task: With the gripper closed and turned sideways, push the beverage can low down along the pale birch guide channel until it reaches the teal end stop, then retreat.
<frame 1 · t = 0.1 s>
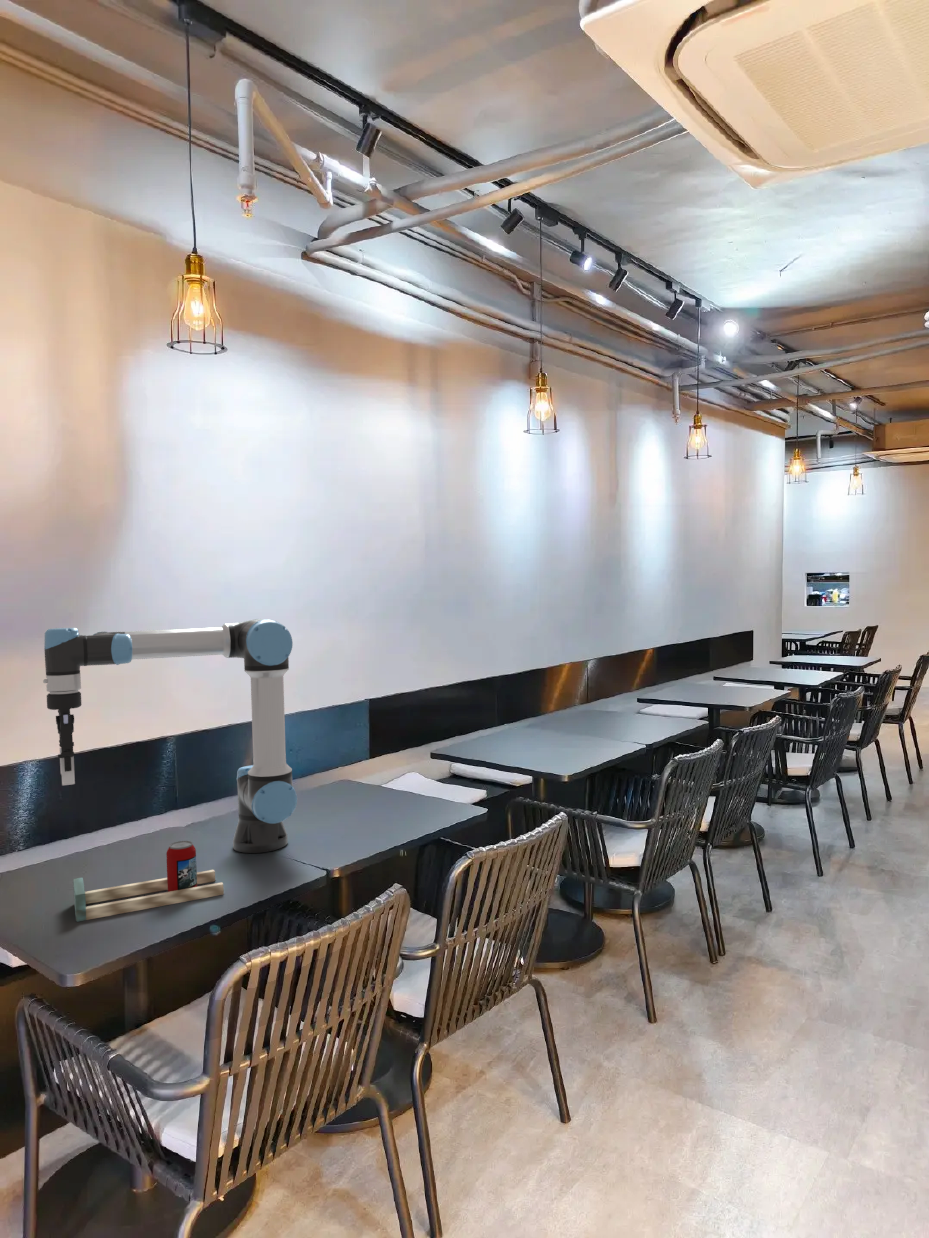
hand: (67, 779, 201), 28 cm above the table, fingers open, 13 cm apart
channel: (149, 899, 197), on the table
beverage can: (182, 894, 200), resting in channel
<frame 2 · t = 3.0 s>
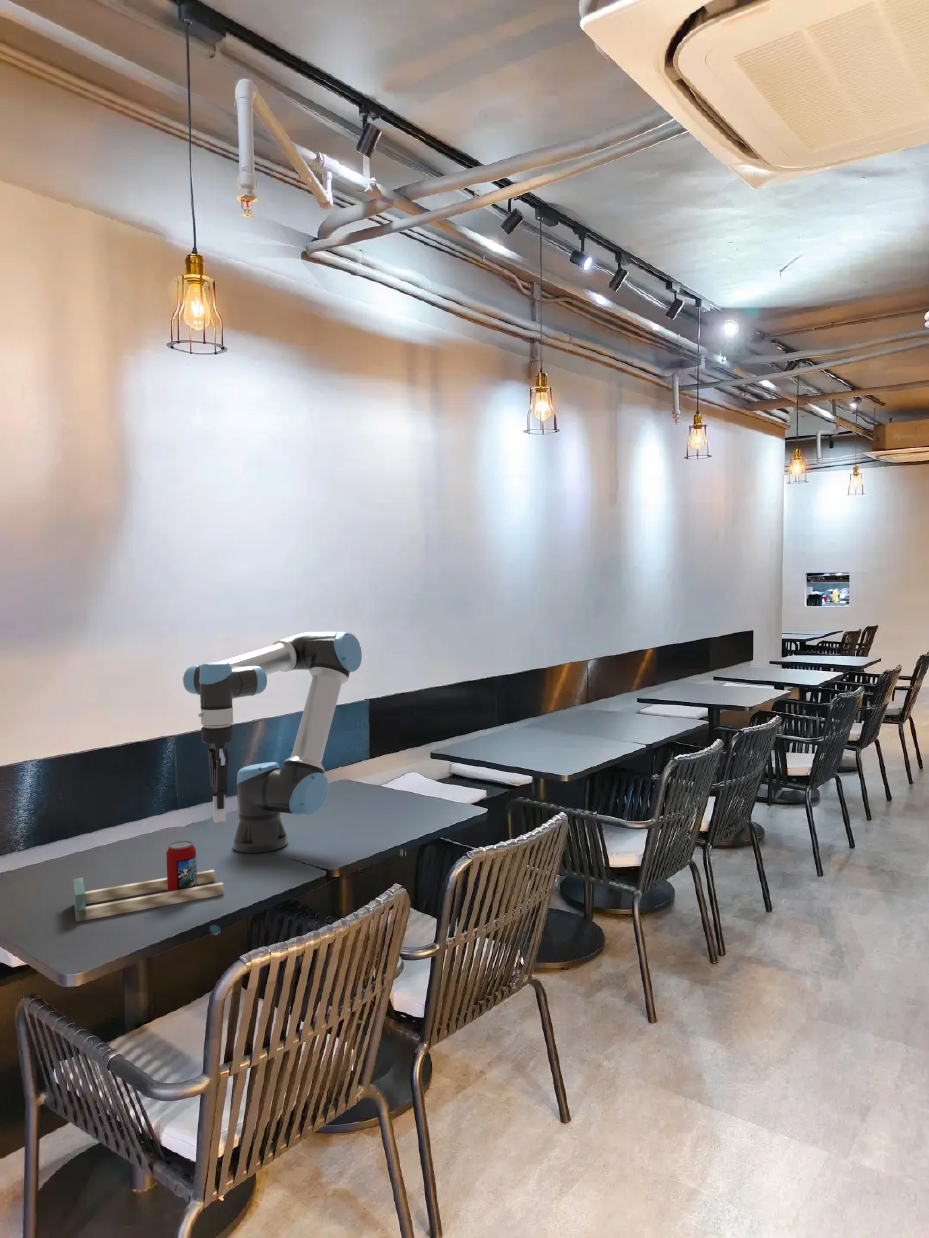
hand: (219, 820, 204), 16 cm above the table, fingers closed
nothing on the table moved.
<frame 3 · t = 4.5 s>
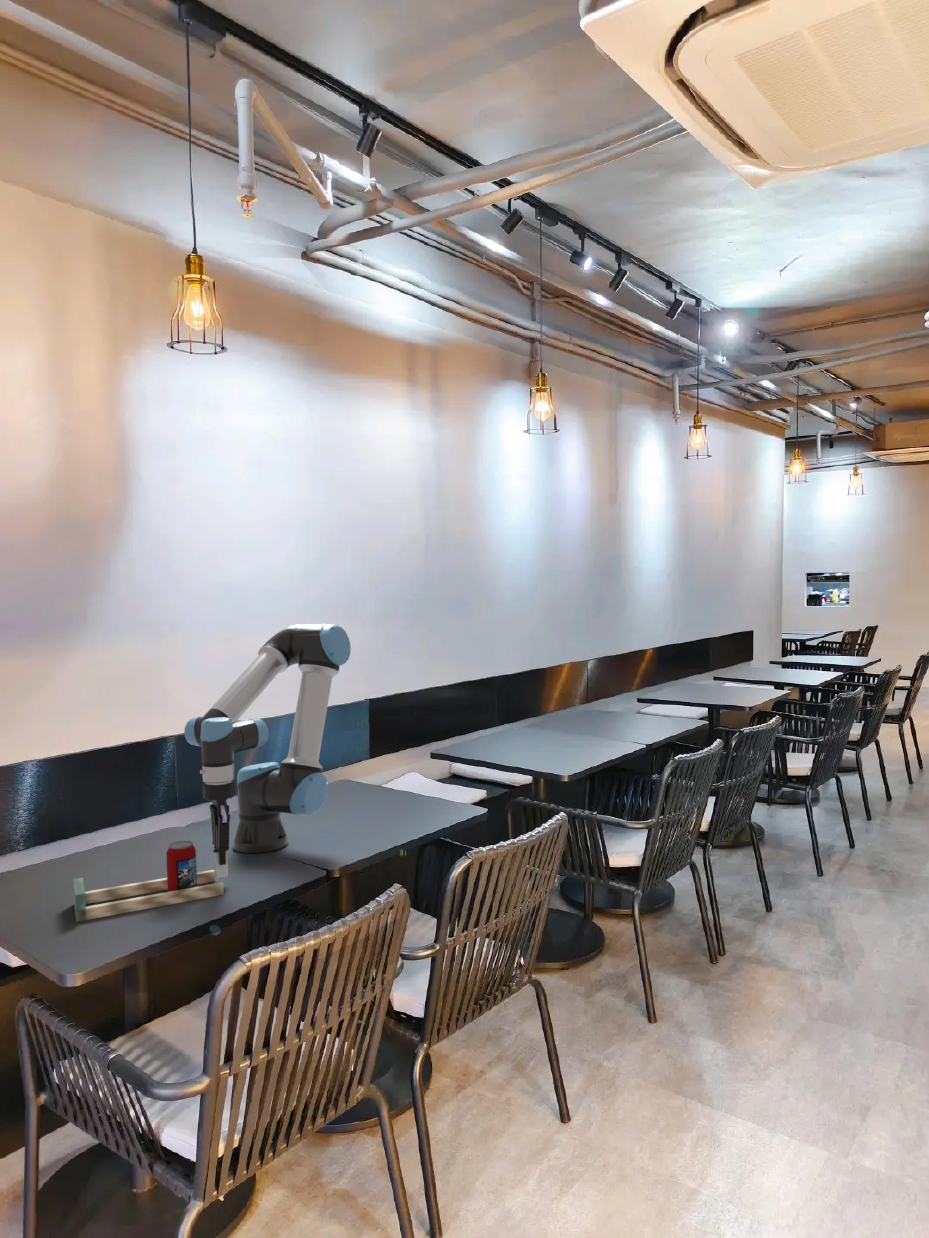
hand: (221, 876, 204), 2 cm above the table, fingers closed
nothing on the table moved.
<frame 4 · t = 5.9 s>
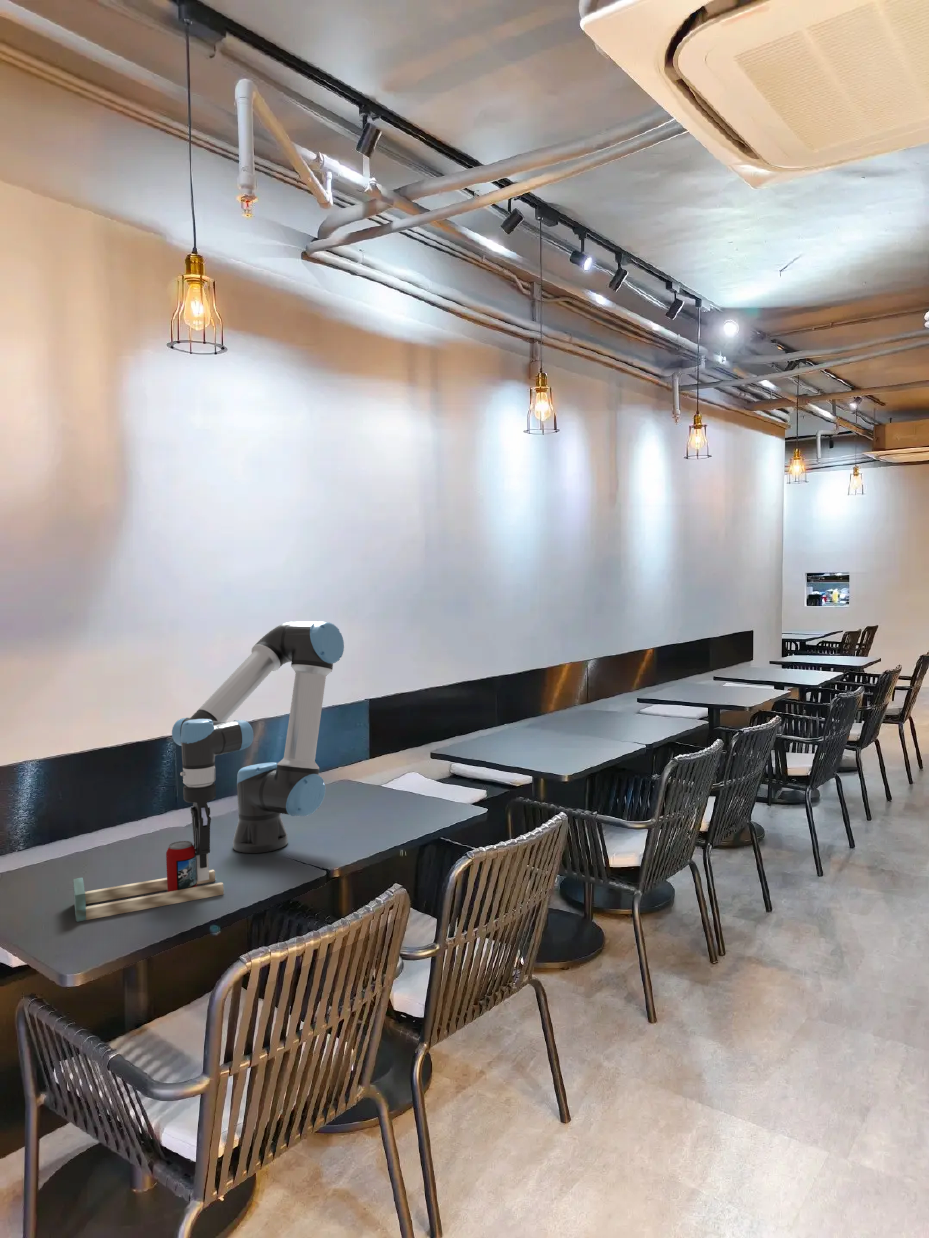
hand: (202, 879, 202), 3 cm above the table, fingers closed
beverage can: (182, 894, 200), resting in channel, touching gripper
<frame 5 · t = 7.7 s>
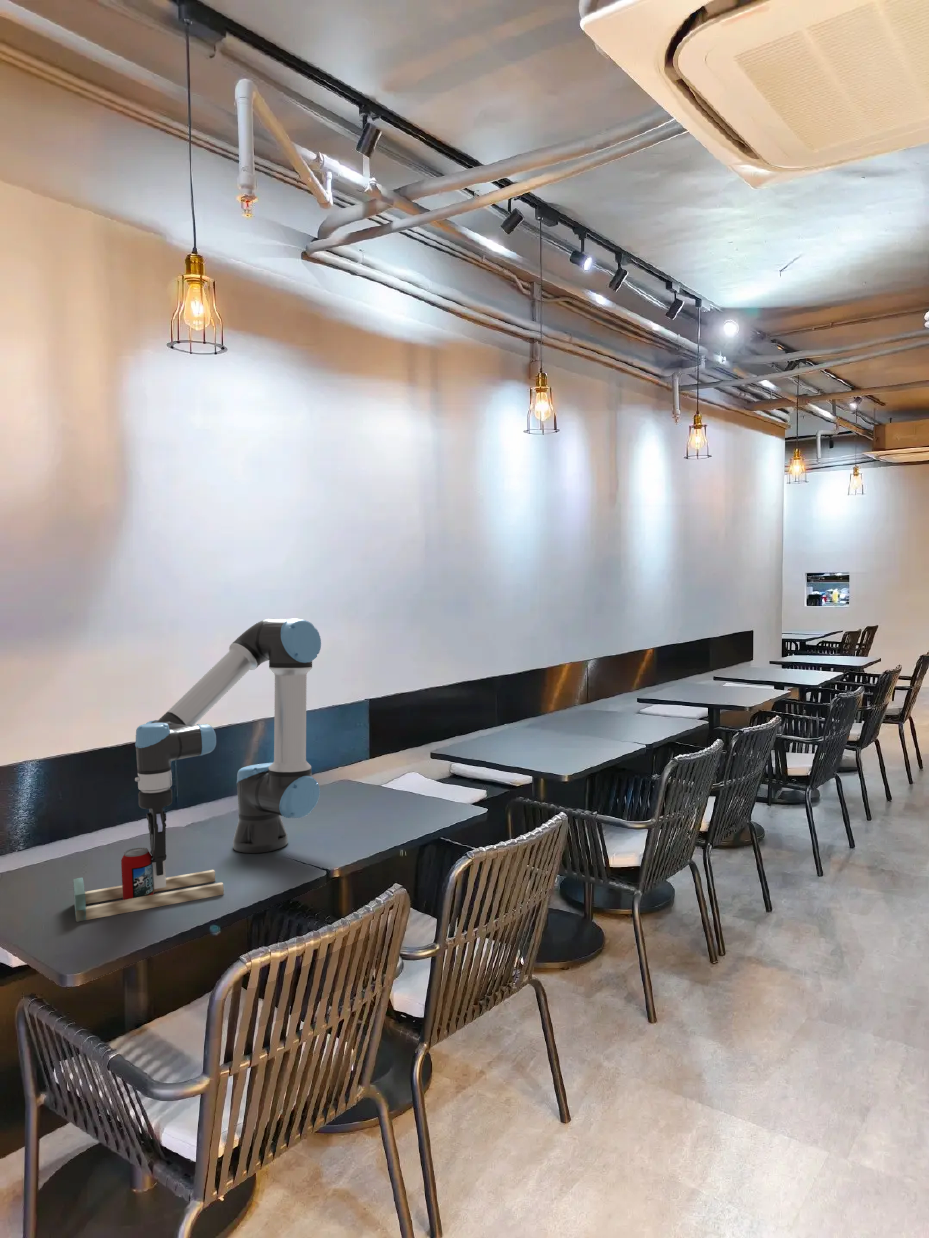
hand: (159, 886, 197), 3 cm above the table, fingers closed
beverage can: (138, 902, 195), resting in channel, touching gripper
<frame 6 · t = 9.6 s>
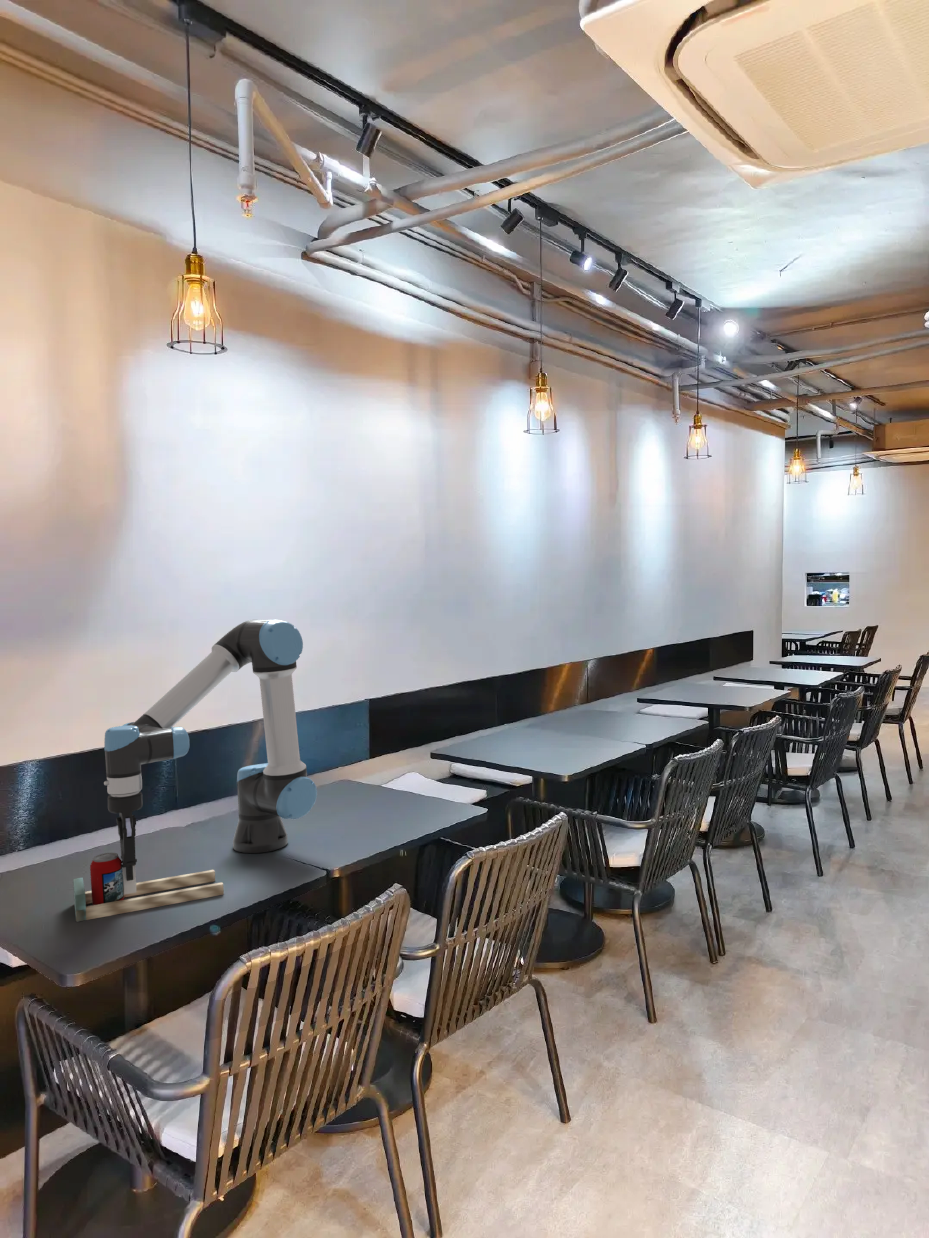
hand: (130, 892, 194), 3 cm above the table, fingers closed
beverage can: (108, 908, 192), resting in channel, touching gripper
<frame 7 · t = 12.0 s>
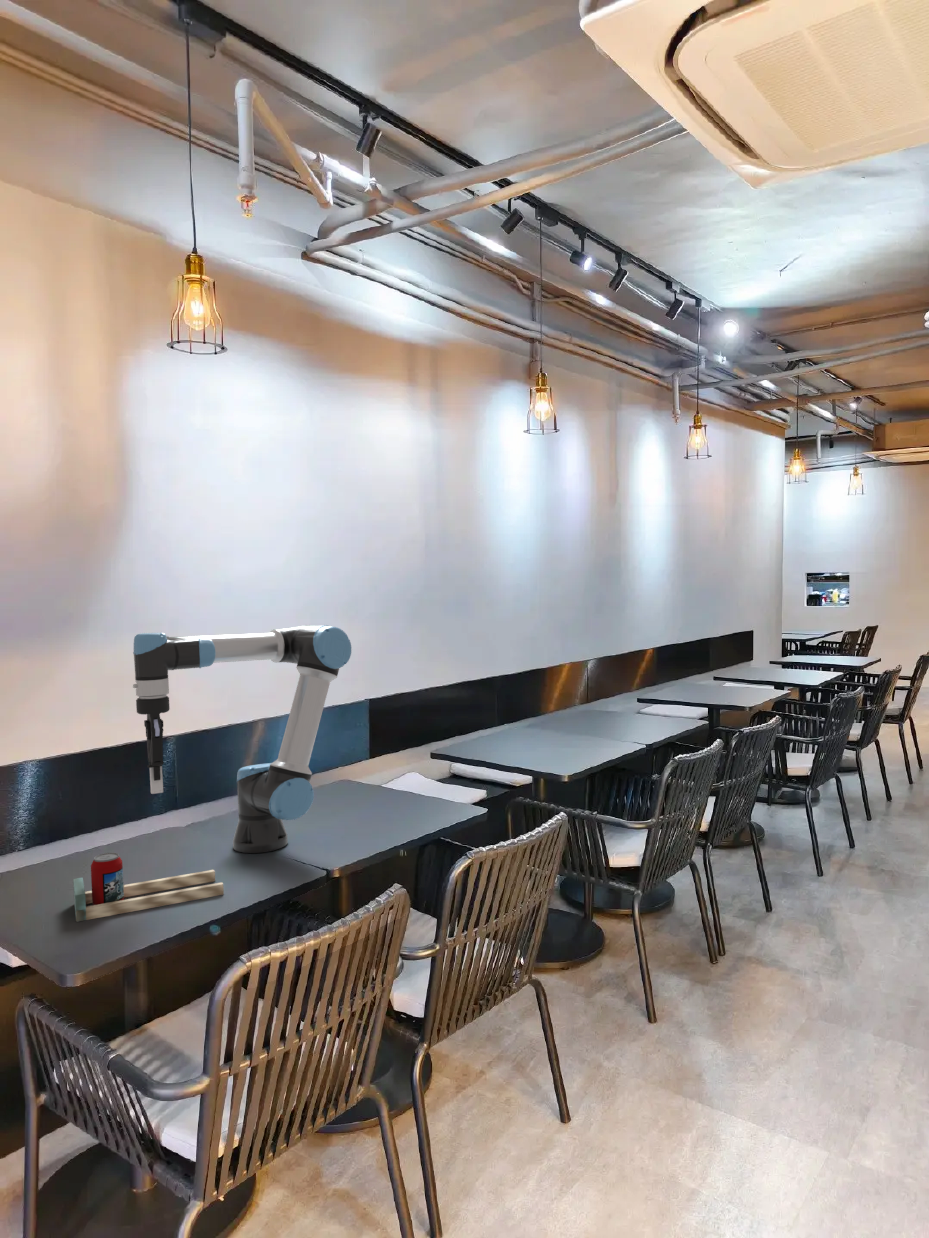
hand: (156, 792, 202), 24 cm above the table, fingers closed
beverage can: (108, 908, 192), resting in channel
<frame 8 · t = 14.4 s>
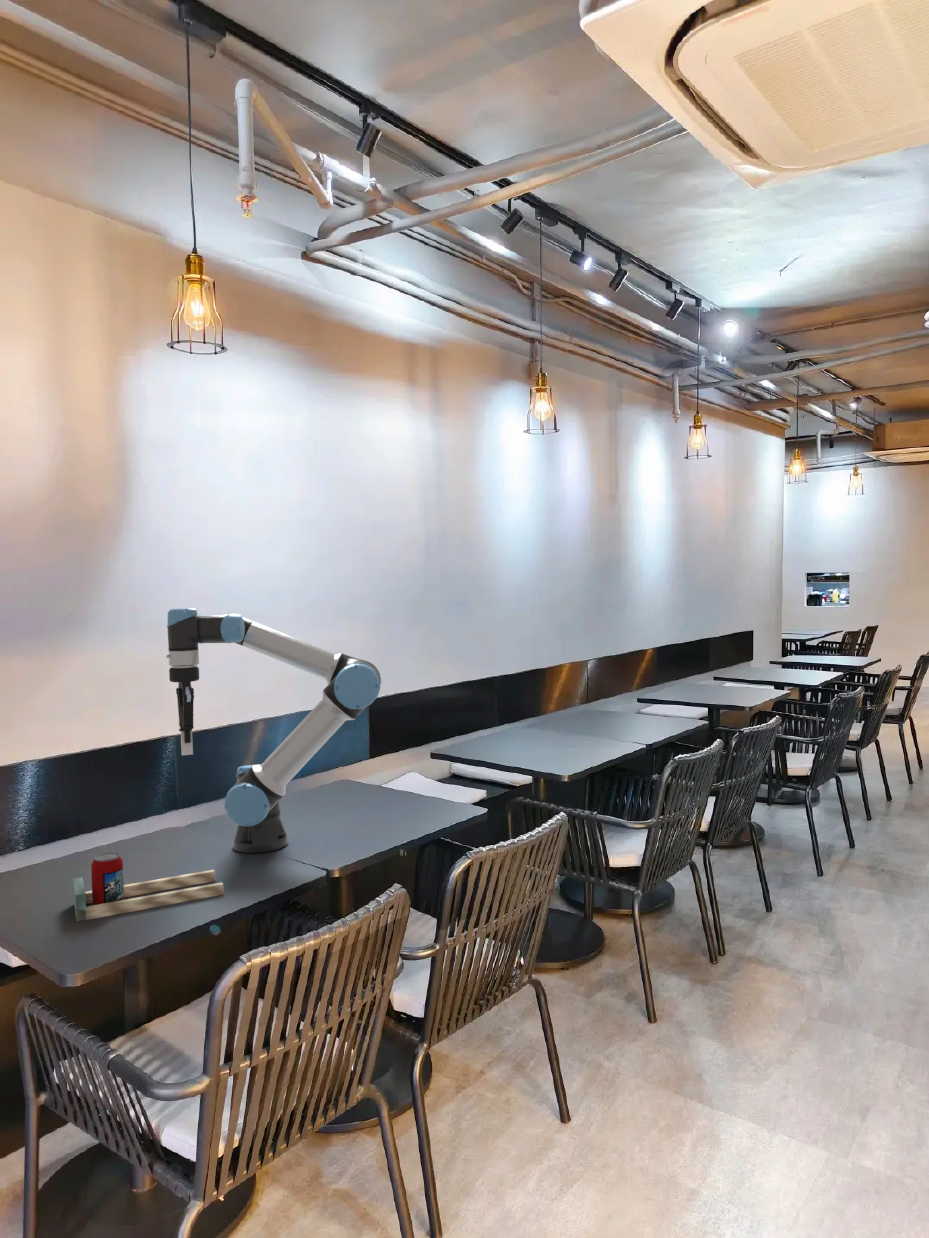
hand: (187, 754, 221), 29 cm above the table, fingers closed
nothing on the table moved.
at the end: beverage can inside the target area on the channel (1.3 cm from its centre), point 0.0 cm above the channel's base; beverage can tilted 0°; beverage can moved 16.5 cm from its start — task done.
